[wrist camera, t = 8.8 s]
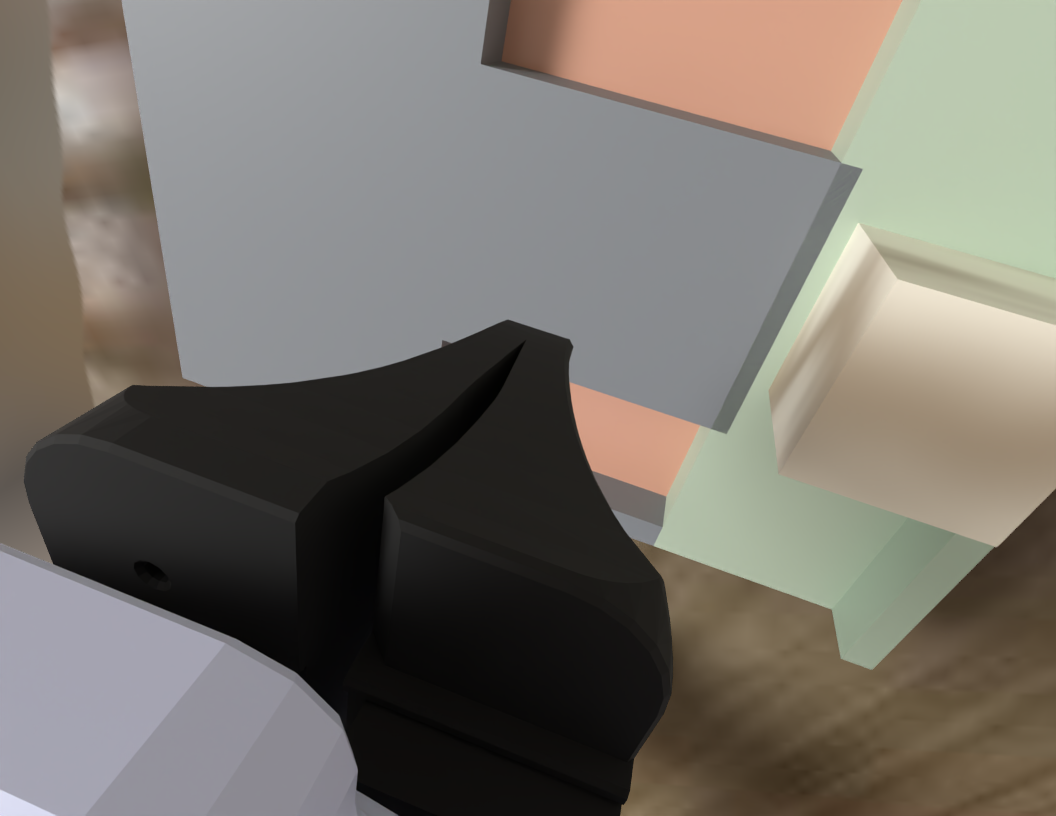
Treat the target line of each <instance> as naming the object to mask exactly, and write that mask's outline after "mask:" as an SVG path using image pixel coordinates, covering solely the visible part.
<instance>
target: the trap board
mask: <svg viewBox="0 0 1056 816" xmlns="http://www.w3.org/2000/svg"><path fill="white" fill-rule="evenodd" d="M122 6H123V12H124V18H125V24H126V30H127V37H128V43H129V49H130V55H131V61H132V67H133V74H134V80H135V86H136V92H137V98H138V105H139V111H140V117H141V123H142V129H143V135H144V142H145V148H146V154H147V160H148V166H149V173H150V179H151V185H152V191H153V197H154V203H155V210H156V216H157V222H158V228H159V234H160V240H161V247H162V253H163V259H164V265H165V271H166V278H167V284H168V290H169V296H170V302H171V308H172V315H173V321H174V327H175V333H176V339H177V345H178V352H179V358H180V364H181V370H182V376H183V378H185V379H187V380H190V381H193V382H196V383H199V384H201V385H204V386H207V387H231V386H252V385H268V384H281V383H292V382H300V381H307V380H314V379H320V378H327V377H334V376H341V375H347V374H352V373H357V372H361V371H366V370H370V369H374V368H379V367H383V366H386V365H390V364H394V363H397V362H401V361H404V360H407V359H410V358H413V357H415V356H418V355H421V354H424V353H427V352H430V351H433V350H435V349H438V348H441V347H444V346H446V345H449V344H451V343H454V342H456V341H458V340H461V339H463V338H466V337H468V336H470V335H473V334H475V333H477V332H479V331H482V330H484V329H486V328H488V327H491V326H493V325H495V324H497V323H500V322H502V321H505V320H511V321H514V322H518V323H521V324H524V325H527V326H530V327H533V328H536V329H539V330H542V331H545V332H548V333H552V334H555V335H558V336H561V337H564V338H567V339H570V341H571V343H572V345H573V350H572V354H571V357H570V361H569V383H570V392H571V400H572V406H573V412H574V416H575V421H576V425H577V429H578V433H579V437H580V440H581V443H582V446H583V449H584V452H585V455H586V457H587V460H588V463H589V465H590V467H591V470H592V472H593V475H594V477H595V479H596V481H597V483H598V485H599V487H600V489H601V491H602V493H603V495H604V496H605V498H606V500H607V502H608V504H609V506H610V508H611V510H612V511H613V513H614V515H615V516H616V518H617V520H618V521H619V523H620V524H621V526H622V527H623V529H624V530H625V532H626V533H627V534H628V536H629V537H630V538H633V539H636V540H639V541H641V542H644V543H647V544H650V545H653V546H655V547H658V548H661V549H664V550H667V551H669V552H672V553H675V554H678V555H681V556H683V557H686V558H689V559H692V560H695V561H697V562H700V563H703V564H706V565H709V566H711V567H714V568H717V569H720V570H723V571H725V572H728V573H731V574H734V575H737V576H739V577H742V578H745V579H748V580H751V581H753V582H756V583H759V584H762V585H765V586H767V587H770V588H773V589H776V590H779V591H781V592H784V593H787V594H790V595H793V596H795V597H798V598H801V599H804V600H807V601H809V602H812V603H815V604H818V605H821V606H823V607H826V608H829V609H832V613H833V618H834V624H835V629H836V635H837V640H838V645H839V651H840V656H841V659H844V660H846V661H849V662H852V663H854V664H857V665H860V666H863V667H865V668H868V669H871V670H872V669H873V668H874V667H875V666H876V665H877V664H878V663H879V662H880V661H881V660H882V659H883V658H884V657H885V656H886V655H887V654H888V653H889V652H890V651H891V650H892V649H893V648H894V647H895V646H896V645H897V644H898V643H899V642H900V641H901V640H902V639H903V638H904V637H905V636H906V635H907V634H908V633H909V632H910V631H911V630H912V629H913V628H914V627H915V626H916V625H917V624H918V623H919V622H920V621H921V620H922V619H923V618H924V617H925V616H926V615H927V614H928V613H929V612H930V611H931V610H932V609H933V608H934V607H935V606H936V605H937V604H938V603H939V602H940V601H941V600H942V599H943V598H944V597H945V596H946V595H947V594H948V593H949V592H950V591H951V590H952V589H953V588H954V587H955V586H956V585H957V584H958V583H959V582H960V581H961V580H962V579H963V578H964V577H965V576H966V575H967V574H968V573H969V572H970V571H971V570H972V569H973V568H974V567H975V566H976V565H977V564H978V563H979V562H980V561H981V560H982V559H983V558H984V557H985V556H986V555H987V554H988V553H989V552H990V551H991V550H992V549H993V548H994V546H991V545H988V544H985V543H982V542H979V541H976V540H973V539H971V538H968V537H965V536H962V535H959V534H956V533H953V532H950V531H947V530H944V529H941V528H938V527H935V526H932V525H929V524H926V523H923V522H920V521H917V520H914V519H911V518H908V517H905V516H902V515H899V514H896V513H893V512H890V511H887V510H884V509H881V508H878V507H875V506H872V505H869V504H866V503H863V502H860V501H857V500H854V499H851V498H848V497H845V496H842V495H839V494H836V493H833V492H830V491H827V490H824V489H821V488H818V487H815V486H812V485H809V484H806V483H803V482H800V481H797V480H794V479H791V478H788V477H785V476H782V475H779V473H778V465H777V457H776V449H775V440H774V432H773V424H772V416H771V407H770V399H769V391H768V390H769V388H770V386H771V385H772V383H773V381H774V379H775V377H776V375H777V373H778V371H779V370H780V368H781V366H782V364H783V362H784V360H785V358H786V357H787V355H788V353H789V351H790V349H791V347H792V345H793V344H794V342H795V340H796V338H797V336H798V334H799V332H800V330H801V329H802V327H803V325H804V323H805V321H806V319H807V317H808V316H809V314H810V312H811V310H812V308H813V306H814V304H815V303H816V301H817V299H818V297H819V295H820V293H821V291H822V289H823V288H824V286H825V284H826V282H827V280H828V278H829V276H830V275H831V273H832V271H833V269H834V267H835V265H836V263H837V262H838V260H839V258H840V256H841V254H842V252H843V250H844V248H845V247H846V245H847V243H848V241H849V239H850V237H851V235H852V234H853V232H854V230H855V228H856V226H857V224H858V223H861V224H865V225H868V226H872V227H876V228H879V229H883V230H886V231H890V232H893V233H897V234H900V235H904V236H907V237H911V238H914V239H918V240H921V241H925V242H928V243H932V244H936V245H939V246H943V247H946V248H950V249H953V250H957V251H960V252H964V253H967V254H971V255H974V256H978V257H981V258H985V259H988V260H992V261H996V262H999V263H1003V264H1006V265H1010V266H1013V267H1017V268H1020V269H1024V270H1027V271H1031V272H1034V273H1038V274H1041V275H1045V276H1048V277H1052V278H1056V0H122Z"/></svg>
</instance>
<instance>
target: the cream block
mask: <svg viewBox="0 0 1056 816" xmlns="http://www.w3.org/2000/svg"><path fill="white" fill-rule="evenodd" d="M768 391H769V399H770V407H771V416H772V424H773V432H774V440H775V449H776V457H777V465H778V473H779V475H782V476H785V477H788V478H791V479H794V480H797V481H800V482H803V483H806V484H809V485H812V486H815V487H818V488H821V489H824V490H827V491H830V492H833V493H836V494H839V495H842V496H845V497H848V498H851V499H854V500H857V501H860V502H863V503H866V504H869V505H872V506H875V507H878V508H881V509H884V510H887V511H890V512H893V513H896V514H899V515H902V516H905V517H908V518H911V519H914V520H917V521H920V522H923V523H926V524H929V525H932V526H935V527H938V528H941V529H944V530H947V531H950V532H953V533H956V534H959V535H962V536H965V537H968V538H971V539H973V540H976V541H979V542H982V543H985V544H988V545H991V546H994V547H998V546H999V545H1000V544H1001V543H1002V542H1003V541H1004V540H1005V539H1006V538H1007V537H1008V536H1009V535H1010V534H1011V533H1012V532H1013V531H1014V530H1015V529H1016V528H1017V527H1018V526H1019V525H1020V524H1021V523H1022V522H1023V521H1024V520H1025V519H1026V518H1027V517H1028V516H1029V515H1030V514H1031V513H1032V512H1033V511H1034V510H1035V509H1036V508H1037V507H1038V506H1039V505H1040V504H1041V503H1042V502H1043V501H1044V500H1045V499H1046V498H1047V497H1048V496H1049V495H1050V494H1051V493H1052V492H1053V491H1054V490H1055V489H1056V278H1052V277H1048V276H1045V275H1041V274H1038V273H1034V272H1031V271H1027V270H1024V269H1020V268H1017V267H1013V266H1010V265H1006V264H1003V263H999V262H996V261H992V260H988V259H985V258H981V257H978V256H974V255H971V254H967V253H964V252H960V251H957V250H953V249H950V248H946V247H943V246H939V245H936V244H932V243H928V242H925V241H921V240H918V239H914V238H911V237H907V236H904V235H900V234H897V233H893V232H890V231H886V230H883V229H879V228H876V227H872V226H868V225H865V224H861V223H858V224H857V226H856V228H855V230H854V232H853V234H852V235H851V237H850V239H849V241H848V243H847V245H846V247H845V248H844V250H843V252H842V254H841V256H840V258H839V260H838V262H837V263H836V265H835V267H834V269H833V271H832V273H831V275H830V276H829V278H828V280H827V282H826V284H825V286H824V288H823V289H822V291H821V293H820V295H819V297H818V299H817V301H816V303H815V304H814V306H813V308H812V310H811V312H810V314H809V316H808V317H807V319H806V321H805V323H804V325H803V327H802V329H801V330H800V332H799V334H798V336H797V338H796V340H795V342H794V344H793V345H792V347H791V349H790V351H789V353H788V355H787V357H786V358H785V360H784V362H783V364H782V366H781V368H780V370H779V371H778V373H777V375H776V377H775V379H774V381H773V383H772V385H771V386H770V388H769V390H768Z"/></svg>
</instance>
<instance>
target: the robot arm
mask: <svg viewBox="0 0 1056 816" xmlns="http://www.w3.org/2000/svg"><path fill="white" fill-rule="evenodd" d="M572 350H573V345H572V343H571V341H570V339H567V338H564V337H561V336H558V335H555V334H552V333H548V332H545V331H542V330H539V329H536V328H533V327H530V326H527V325H524V324H521V323H518V322H514V321H511V320H505V321H502V322H500V323H497V324H495V325H493V326H491V327H488V328H486V329H484V330H482V331H479V332H477V333H475V334H473V335H470V336H468V337H466V338H463V339H461V340H458V341H456V342H454V343H451V344H449V345H446V346H444V347H441V348H438V349H435V350H433V351H430V352H427V353H424V354H421V355H418V356H415V357H413V358H410V359H407V360H404V361H401V362H397V363H394V364H390V365H386V366H383V367H379V368H374V369H370V370H366V371H361V372H357V373H352V374H347V375H341V376H334V377H327V378H320V379H314V380H307V381H300V382H292V383H281V384H268V385H252V386H231V387H184V386H141V385H132V386H130V387H128V388H127V389H125V390H123V391H122V392H120V393H118V394H117V395H115V396H113V397H112V398H110V399H108V400H106V401H105V402H103V403H101V404H100V405H98V406H96V407H95V408H93V409H91V410H90V411H88V412H87V413H85V414H83V415H81V416H80V417H78V418H76V419H75V420H73V421H71V422H70V423H68V424H66V425H65V426H63V427H61V428H59V429H58V430H56V431H54V432H53V433H51V434H49V435H48V436H46V437H44V438H43V439H41V440H39V441H38V442H37V443H36V444H35V445H34V447H33V448H32V449H31V451H30V452H29V453H28V455H27V457H26V465H25V474H24V484H25V488H26V492H27V496H28V500H29V503H30V506H31V509H32V511H33V514H34V516H35V519H36V521H37V524H38V526H39V529H40V532H41V534H42V536H43V539H44V542H45V544H46V547H47V549H48V552H49V554H50V557H51V560H52V562H53V564H51V563H48V562H46V561H44V560H41V559H39V558H36V557H34V556H31V555H29V554H27V553H24V552H22V551H19V550H17V549H14V548H12V547H9V546H7V545H4V544H2V543H0V816H620V812H621V805H624V803H625V802H626V801H627V799H628V795H629V792H630V786H631V778H632V770H633V762H634V758H635V756H636V755H637V753H638V752H639V750H640V749H641V747H642V746H643V744H644V743H645V741H646V740H647V738H648V737H649V735H650V734H651V732H652V731H653V729H654V728H655V726H656V725H657V723H658V722H659V720H660V719H661V717H662V716H663V714H664V712H665V709H666V707H667V704H668V701H669V699H670V696H671V691H672V679H673V653H672V636H671V627H670V617H669V610H668V603H667V597H666V591H665V585H664V581H663V579H662V577H661V575H660V574H659V573H658V572H657V571H656V569H655V568H654V567H653V566H652V564H651V563H650V562H649V561H648V559H647V558H646V557H645V556H644V554H643V553H642V552H641V551H640V549H639V548H638V547H637V546H636V544H635V543H634V542H633V541H632V539H631V538H630V537H629V536H628V534H627V533H626V532H625V530H624V529H623V527H622V526H621V524H620V523H619V521H618V520H617V518H616V516H615V515H614V513H613V511H612V510H611V508H610V506H609V504H608V502H607V500H606V498H605V496H604V495H603V493H602V491H601V489H600V487H599V485H598V483H597V481H596V479H595V477H594V475H593V472H592V470H591V467H590V465H589V463H588V460H587V457H586V455H585V452H584V449H583V446H582V443H581V440H580V437H579V433H578V429H577V425H576V421H575V416H574V412H573V406H572V400H571V392H570V383H569V361H570V357H571V354H572Z"/></svg>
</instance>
